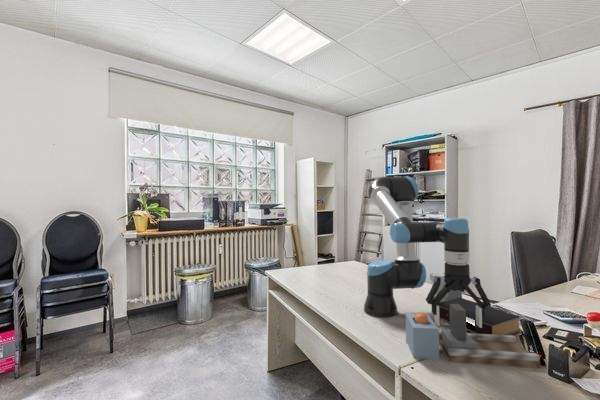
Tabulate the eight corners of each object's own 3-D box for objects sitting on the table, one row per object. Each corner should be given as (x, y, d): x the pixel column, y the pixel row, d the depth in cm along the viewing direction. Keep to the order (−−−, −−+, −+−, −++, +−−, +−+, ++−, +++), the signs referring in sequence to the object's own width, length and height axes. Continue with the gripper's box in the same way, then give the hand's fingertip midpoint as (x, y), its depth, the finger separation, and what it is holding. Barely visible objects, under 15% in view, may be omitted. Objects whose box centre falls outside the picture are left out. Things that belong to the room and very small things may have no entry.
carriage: (450, 351, 94) (450, 311, 94) (441, 337, 104) (440, 301, 104) (477, 353, 93) (476, 313, 93) (465, 339, 103) (464, 302, 103)
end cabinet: (413, 357, 95) (413, 327, 95) (406, 340, 107) (405, 313, 107) (439, 359, 94) (438, 328, 94) (428, 341, 106) (428, 314, 106)
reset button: (416, 329, 99) (416, 317, 99) (413, 324, 103) (413, 312, 103) (428, 329, 98) (428, 317, 98) (425, 324, 102) (425, 313, 102)
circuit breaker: (465, 308, 138) (465, 277, 138) (434, 306, 141) (433, 275, 141) (460, 302, 145) (459, 273, 145) (430, 301, 148) (429, 272, 148)
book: (492, 343, 105) (492, 325, 105) (434, 318, 127) (434, 303, 127) (520, 333, 112) (519, 316, 112) (460, 311, 135) (460, 297, 135)
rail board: (450, 361, 92) (449, 350, 92) (436, 340, 106) (436, 331, 106) (540, 368, 88) (540, 356, 88) (513, 345, 102) (513, 335, 102)
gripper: (421, 264, 97) (422, 327, 97) (502, 266, 93) (503, 331, 93) (416, 260, 104) (417, 318, 104) (490, 261, 100) (491, 322, 100)
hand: (457, 325), depth 98 cm, fingers open, 13 cm apart
